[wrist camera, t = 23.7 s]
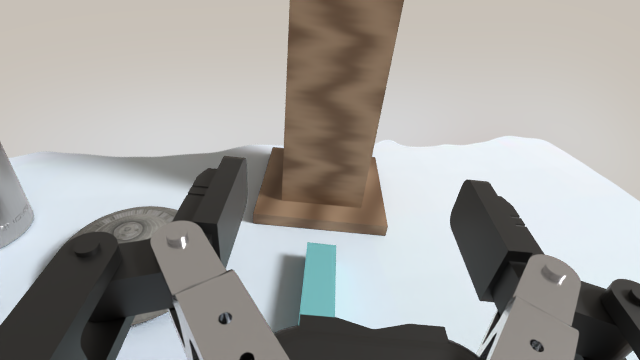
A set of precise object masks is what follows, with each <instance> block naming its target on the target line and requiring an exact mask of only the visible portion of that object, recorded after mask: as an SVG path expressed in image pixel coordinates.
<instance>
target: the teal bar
mask: <svg viewBox="0 0 640 360" xmlns="http://www.w3.org/2000/svg"><path fill="white" fill-rule="evenodd" d="M335 275H336V245H327V244H318V243H309V242H308V243H307V252H306V261H305V270H304V279H303V288H302V296H301V305H300V314H304V315H315V316H327V317H335ZM300 314H299V320H300ZM298 325H299V323H298Z"/></svg>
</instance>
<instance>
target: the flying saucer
mask: <svg viewBox="0 0 640 360" xmlns="http://www.w3.org/2000/svg"><path fill="white" fill-rule="evenodd" d="M177 211H178V210H175V209H170V208H165V207H153V206H148V207H136V208H130V209H125V210H121V211H118V212H114V213H112V214H109V215H106V216H104V217H102V218H99V219H97V220H95V221H94V222H92V223H90V224H88V225H87V226H85V227H84V228H82V229H81V230H80V231H78V232H77V233H76V234H75V235H73V236H72V237H71V238H70V239H69V240H68V241H70V240H71V239H73V238H75V237H77V236H79V235H82V234H85V233H89V232H107V233H110V234H112V235H114V236H115V237H116V239H117V241H118V244H120V243H127V242H134V241H140V240H145V239H149V238H151V237H152V235H153V233H154V232H155V231H156V230H157V229H158V228H160V227H161V226H163V225H165V224H167V223H170V222H172V220H173V218H174V217H175V215H176V213H177ZM68 241H67V242H68ZM67 242H66V243H67ZM66 243H65V244H66ZM166 312H168V309H164V310H159V311H154V312H149V313H144V314H139V315H136V316H135V318H134V320H133V322H132V325H134V324H138V323H142V322H145V321H148V320H150V319H153V318H155V317H158V316H160V315H162V314H164V313H166Z"/></svg>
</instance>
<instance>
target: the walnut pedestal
mask: <svg viewBox="0 0 640 360" xmlns="http://www.w3.org/2000/svg"><path fill="white" fill-rule="evenodd" d="M403 2H404V0H290V9H289V34H288V58H287V82H286V107H285V132H284V148H275V147H273V148H272V152H271V155H270V159H269V162H268V165H267V169H266V172H265V175H264V179H263V182H262V185H261V189H260V192H259V195H258V199H257V202H256V206H255V209H254V212H253V223H256V224H266V225H277V226H288V227H298V228H309V229H319V230H330V231H341V232H351V233H362V234H373V235H383V236H385V235H386V231H387V227H388V225H387V220H386V214H385V209H384V203H383V198H382V192H381V187H380V181H379V176H378V170H377V165H376V159H375V157H372V153H373V148H374V143H375V138H376V134H377V129H378V123H379V119H380V114H381V109H382V104H383V100H384V95H385V90H386V84H387V79H388V75H389V70H390V66H391V60H392V56H393V51H394V46H395V41H396V36H397V32H398V27H399V22H400V17H401V12H402V7H403Z"/></svg>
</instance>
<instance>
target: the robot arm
mask: <svg viewBox="0 0 640 360" xmlns="http://www.w3.org/2000/svg"><path fill="white" fill-rule="evenodd" d="M246 203H247V164H246V159H245V158H239V157H229V156H224V157H223V159H222V161H221V163H220V165H219V167H218V169H211V168H208V169H207V170H205V171H204V172H202V173H201V174H200V175H198V176H197V178H196V180H195V182H194V183H193V185H192V187H191V189H190V190H189V192H188V195H187V196H186V197H185V199H184V201H183V203H182V204H181V206H180V208H179V210H178V211H177V213H176V215H175V217H174V218H173V220H172V222H170V223H167V224H165V225H163V226H161V227H160V228H158V229H157V230H156V231H155V232H154V233H153V235H152V237H151V238H149V239H145V240H140V241H134V242H127V243H120V244H118V241H117V239H116V237H115V236H114V235H112V234H110V233H107V232H89V233H85V234H82V235H79V236H77V237H75V238H73V239H71V240H70V241H68V242H67V243H66V244H64V245H63V246H62V248H61V249H60V250H59V251H58V253H57V254H56V255H55V256H54V258H53V259H52V260H51V261H50V263H49V264H48V265H47V267H46V268H45V269H44V270H43V272H42V273H41V274H40V275H39V277H38V278H37V279H36V281H35V282H34V283H33V284H32V286H31V287H30V288H29V290H28V291H27V292H26V293H25V295H24V296H23V297H22V298H21V300H20V301H19V302H18V304H17V305H16V306H15V307H14V309H13V310H12V311H11V313H10V314H9V315H8V316H7V318H6V319H5V320H4V321H3V323H2V324H1V325H0V360H116V358H117V356H118V353H119V351H120V349H121V347H122V344H123V342H124V340H125V338H126V336H127V333H128V331H129V329H130V327H131V325H132V322H133V320H134V318H135V316H136V315H139V314H144V313H149V312H154V311H159V310H164V309H168V312H169V314H170V317H171V319H172V322H173V324H174V327H175V329H176V332H177V334H178V337H179V339H180V342H181V344H182V347H183V349H184V352H185V354H186V357H187V360H626V358H625V357H626V356H627V355H628V354H629V353H631V352H632V351H634V352H635V354H636V355H637V357H638V358H639V360H640V284H639V283H637V282H634V281H631V280H626V279H617V280H615V281H613V282H612V283H611V284H610V286H609V287H608V288H607V289H604V288H601V287H598V286H595V285H592V284H589V283H586V282H583V281H580V278H579V276H578V275H577V273H576V272H575V271H574V270H573V269H572V268H571V267H570V266H568V265H567V264H566V263H564V262H563V261H561V260H559V259H557V258H554V257H552V256H548V255H545V254H544V253H543V251H542V250H541V248H540V247H539V245H538V244H537V242H536V241H535V239H534V238H533V236H532V235H531V233H530V232H529V230H528V228H527V227H525V224H524V222H523V221H522V219H521V218H519V215H518V213H517V212H516V210H515V209H514V207H513V206H512V205H511V204H510V203H509V202H507V201H506V200H505V199H504V198H503V197H501V196H498V195H497V194H496V192H495V191H494V189H493V187H492V186H491V184H490V183H489V182H486V181H476V180H466V181H464V183H463V185H462V187H461V189H460V192H459V194H458V197H457V199H456V202H455V204H454V207H453V209H452V212H451V216H450V226H451V229H452V232H453V234H454V237H455V239H456V242H457V245H458V247H459V250H460V252H461V255H462V257H463V260H464V262H465V265H466V267H467V270H468V272H469V275H470V277H471V280H472V282H473V285H474V288H475V290H476V293H477V295H478V298H479V300H480V301H487V302H494V303H495V305H496V307H497V311H496V313H495V314H494V316H493V318H492V321H491V323H490V325H489V327H488V329H487V331H486V334H485V336H484V338H483V340H482V342H481V344H480V347H479V349H478V351H477V353H476V354H475V353H473V352H472V351H470V350H469V349H467V348H466V347H464V346H462V345H460V344H458V343H456V342H454V341H451V340H448V337H447V334H446V330H445V327H440V326H428V325H417V324H405V325H399V326H393V327H387V328H381V329H370V328H367V327H364V326H361V325H358V324H355V323H352V322H349V321H346V320H343V319H339V318H336V317H327V316H315V315H304V314H300V320H299V325H298V326H292V327H289V328H285V329H282V330H280V331H278V332H275V333H273V332H272V330H271V329H270V327H269V325H268V324H267V322H266V320H265V319H264V317H263V316H262V314H261V312H260V311H259V309H258V308H257V306H256V304H255V303H254V301H253V300H252V298H251V296H250V295H249V293H248V291H247V290H246V288H245V287H244V285H243V283H242V282H241V280H240V279H239V277H238V275H237V274H236V273H235V271H234V270H232V269H231V270H228V271H227V270H226V266H227V263H228V260H229V257H230V254H231V251H232V248H233V245H234V242H235V239H236V236H237V233H238V230H239V226H240V223H241V220H242V217H243V214H244V211H245V208H246ZM33 219H34V213H33V210H32V208H31V206H30V204H29V202H28V199H27V197H26V195H25V193H24V191H23V189H22V187H21V185H20V182H19V180H18V178H17V176H16V174H15V172H14V170H13V168H12V166H11V163H10V161H9V159H8V157H7V155H6V153H5V151H4V149H3V147H2V145H1V143H0V248H2V247H4V246H6V245H8V244H9V243H11V242H12V241H14V240H16V239H17V238H18V237H20V236H21V235H22V234H23V233H25V231H26V230H27V229H28V228H29V227H30V226H31V224H32V222H33Z"/></svg>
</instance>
